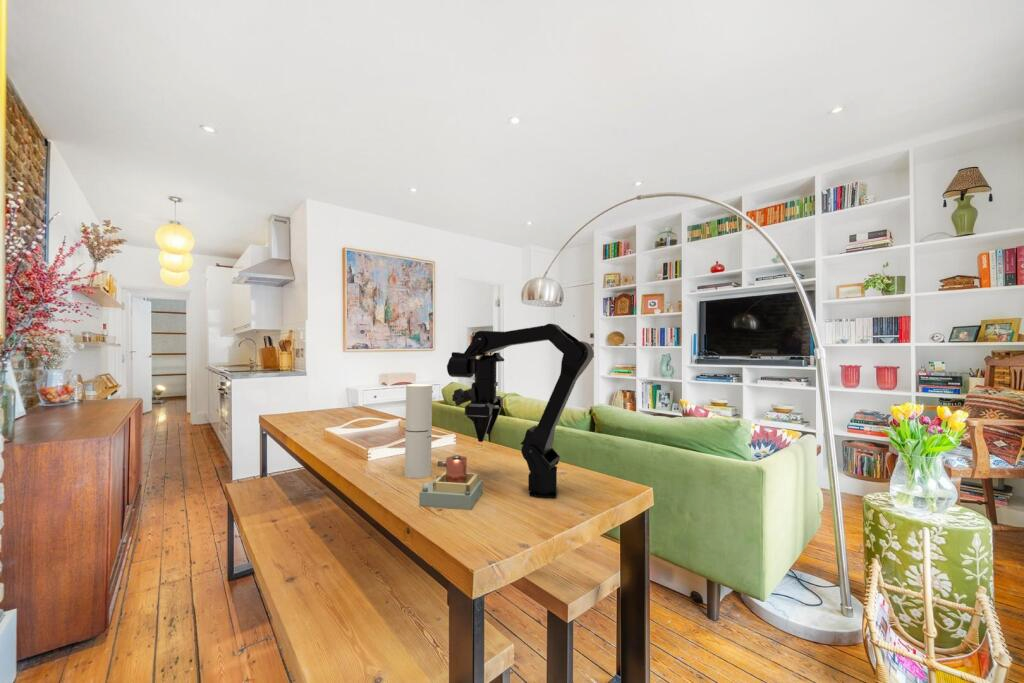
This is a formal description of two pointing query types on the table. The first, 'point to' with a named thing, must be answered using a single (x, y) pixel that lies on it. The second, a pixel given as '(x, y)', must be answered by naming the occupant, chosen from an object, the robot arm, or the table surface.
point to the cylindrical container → (418, 430)
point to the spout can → (455, 469)
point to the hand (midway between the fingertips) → (484, 437)
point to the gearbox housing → (451, 492)
